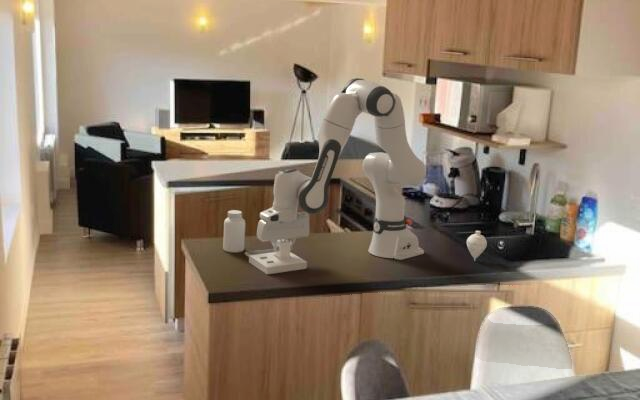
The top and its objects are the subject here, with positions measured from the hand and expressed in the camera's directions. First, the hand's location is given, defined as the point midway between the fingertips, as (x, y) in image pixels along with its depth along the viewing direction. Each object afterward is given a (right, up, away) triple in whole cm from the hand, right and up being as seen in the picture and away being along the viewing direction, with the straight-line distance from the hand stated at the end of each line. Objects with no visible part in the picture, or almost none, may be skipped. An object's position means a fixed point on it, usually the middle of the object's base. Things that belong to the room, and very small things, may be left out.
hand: (282, 250), depth 245 cm
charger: (0, -2, +1) cm, 2 cm away
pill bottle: (-19, -1, +13) cm, 23 cm away
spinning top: (+74, -6, +18) cm, 76 cm away
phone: (-7, -3, +9) cm, 12 cm away
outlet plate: (-2, -5, -2) cm, 6 cm away
